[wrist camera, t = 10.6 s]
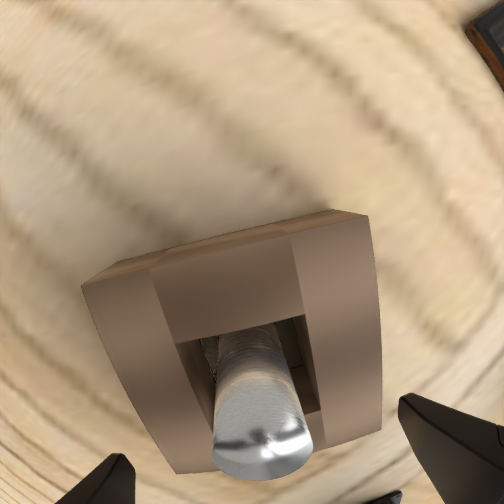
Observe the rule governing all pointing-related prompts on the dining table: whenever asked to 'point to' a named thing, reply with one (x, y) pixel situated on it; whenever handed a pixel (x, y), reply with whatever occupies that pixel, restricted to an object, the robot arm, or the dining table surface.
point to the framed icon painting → (490, 39)
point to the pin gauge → (257, 408)
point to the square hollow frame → (242, 317)
